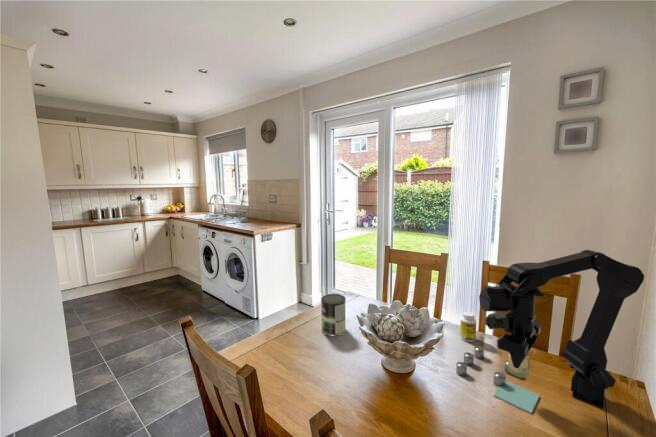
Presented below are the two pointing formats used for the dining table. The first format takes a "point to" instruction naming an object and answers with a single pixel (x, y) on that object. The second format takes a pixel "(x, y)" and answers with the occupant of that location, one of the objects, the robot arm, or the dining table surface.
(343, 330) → the coffee can
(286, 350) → the dining table surface
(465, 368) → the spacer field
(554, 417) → the dining table surface
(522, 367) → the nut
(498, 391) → the mat
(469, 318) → the supplement bottle
